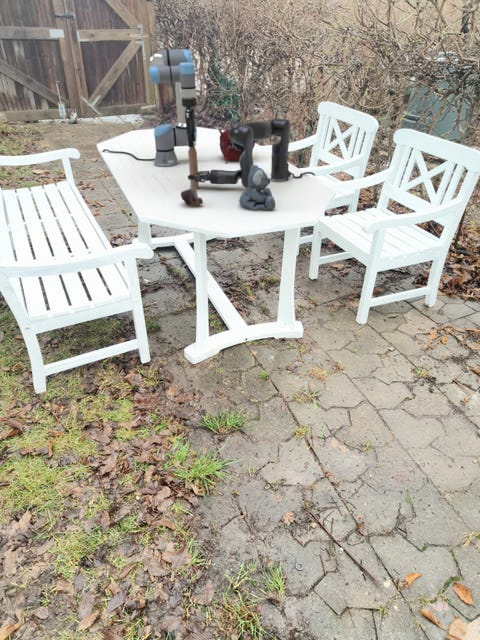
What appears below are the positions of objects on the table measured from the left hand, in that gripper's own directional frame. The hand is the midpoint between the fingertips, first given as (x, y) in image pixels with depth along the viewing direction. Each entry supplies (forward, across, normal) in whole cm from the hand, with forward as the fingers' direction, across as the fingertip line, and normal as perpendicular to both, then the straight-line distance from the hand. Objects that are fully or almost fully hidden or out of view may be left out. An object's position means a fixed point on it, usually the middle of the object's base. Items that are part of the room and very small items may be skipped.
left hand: (192, 145), depth 241 cm
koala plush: (+23, +26, +37) cm, 50 cm away
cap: (-2, 0, 0) cm, 2 cm away
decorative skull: (+23, -62, +18) cm, 69 cm away
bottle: (+23, 0, 0) cm, 23 cm away
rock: (+23, +27, +3) cm, 35 cm away
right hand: (+16, 0, -3) cm, 16 cm away
